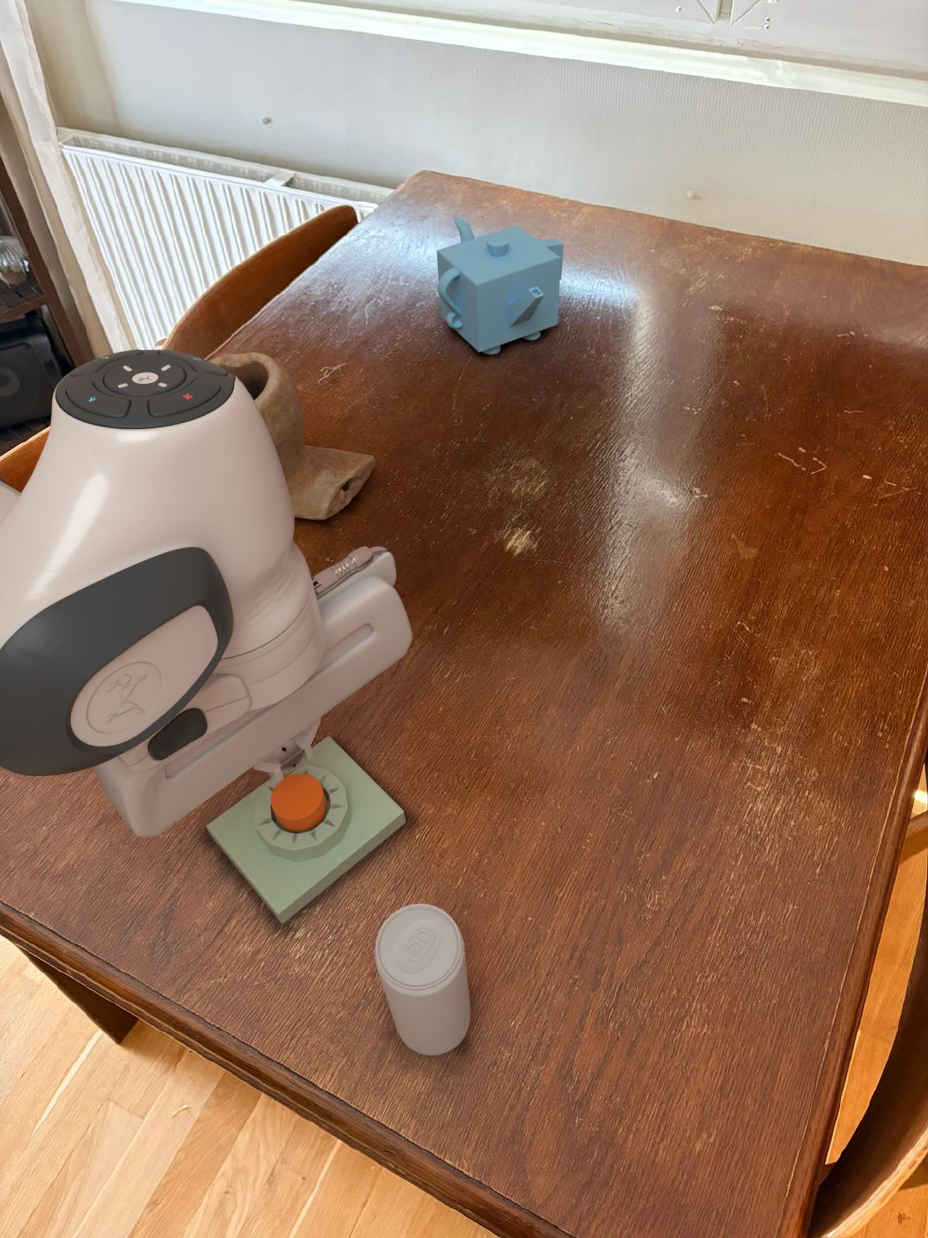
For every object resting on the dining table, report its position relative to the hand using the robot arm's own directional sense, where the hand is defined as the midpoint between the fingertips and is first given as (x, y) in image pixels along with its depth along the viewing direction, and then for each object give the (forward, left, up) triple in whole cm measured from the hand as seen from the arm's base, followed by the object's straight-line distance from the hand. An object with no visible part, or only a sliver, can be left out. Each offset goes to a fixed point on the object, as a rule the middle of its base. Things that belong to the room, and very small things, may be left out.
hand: (289, 764), depth 59 cm
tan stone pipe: (+20, +31, -9) cm, 38 cm away
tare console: (0, 0, -9) cm, 9 cm away
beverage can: (-2, -16, -9) cm, 18 cm away
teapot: (+56, +38, -9) cm, 68 cm away
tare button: (0, 0, -6) cm, 6 cm away
